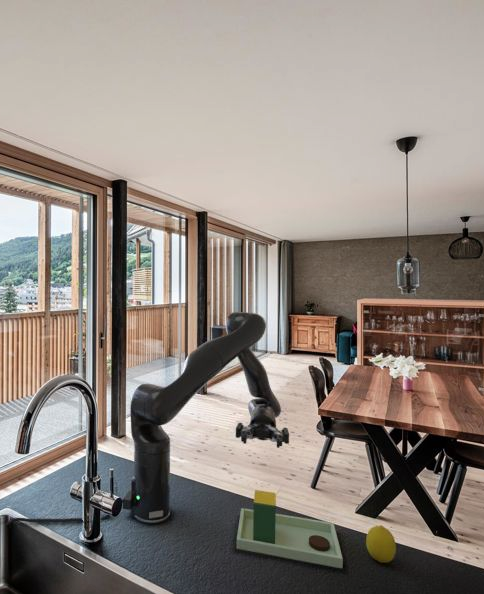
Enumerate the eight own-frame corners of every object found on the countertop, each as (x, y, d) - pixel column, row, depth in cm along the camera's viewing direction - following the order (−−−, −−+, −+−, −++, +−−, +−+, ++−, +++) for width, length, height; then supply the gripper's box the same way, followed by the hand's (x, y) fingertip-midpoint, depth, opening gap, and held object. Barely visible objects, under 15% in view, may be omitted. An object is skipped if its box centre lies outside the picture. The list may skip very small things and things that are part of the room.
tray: (236, 550, 91) (236, 539, 91) (241, 518, 104) (241, 507, 104) (342, 571, 85) (342, 558, 85) (333, 533, 98) (333, 522, 98)
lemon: (399, 573, 85) (400, 535, 84) (370, 569, 86) (371, 531, 85) (389, 556, 90) (390, 520, 90) (362, 552, 91) (363, 517, 91)
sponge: (252, 542, 93) (253, 503, 93) (254, 526, 100) (254, 489, 99) (275, 546, 92) (275, 507, 92) (274, 529, 98) (275, 492, 98)
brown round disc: (310, 549, 91) (310, 545, 91) (307, 538, 95) (307, 533, 95) (331, 553, 90) (331, 548, 90) (327, 541, 94) (327, 536, 94)
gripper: (239, 408, 126) (234, 424, 110) (288, 413, 122) (290, 431, 106) (238, 432, 126) (233, 452, 110) (287, 438, 122) (289, 459, 106)
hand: (261, 442), depth 108 cm, fingers open, 8 cm apart
